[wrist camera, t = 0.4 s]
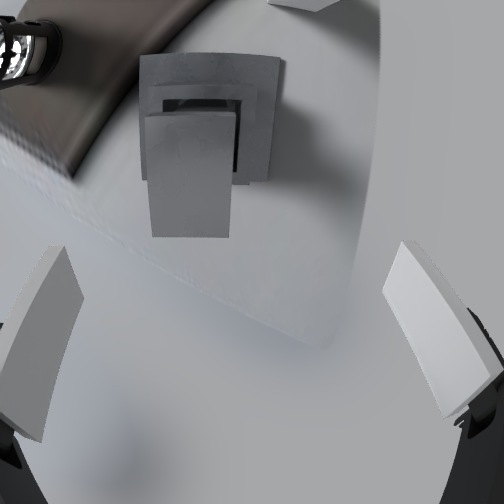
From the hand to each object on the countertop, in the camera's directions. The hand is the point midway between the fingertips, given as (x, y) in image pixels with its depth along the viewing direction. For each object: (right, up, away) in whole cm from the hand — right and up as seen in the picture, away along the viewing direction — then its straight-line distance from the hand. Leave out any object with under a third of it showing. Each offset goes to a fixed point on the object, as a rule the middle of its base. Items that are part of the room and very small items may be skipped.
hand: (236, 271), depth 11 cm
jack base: (-5, +17, +22) cm, 28 cm away
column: (-5, +16, +21) cm, 27 cm away
